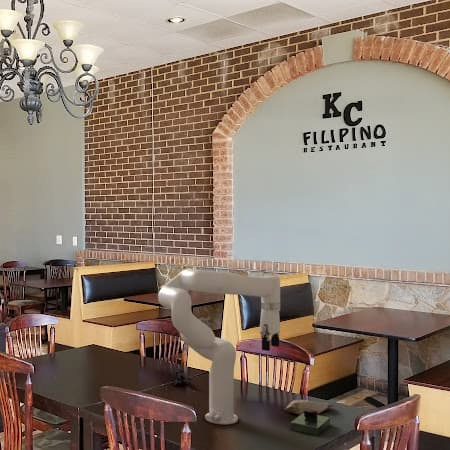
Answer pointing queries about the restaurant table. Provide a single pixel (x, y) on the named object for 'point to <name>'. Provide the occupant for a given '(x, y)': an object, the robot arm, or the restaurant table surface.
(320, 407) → the stone
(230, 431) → the restaurant table surface
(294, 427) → the panel
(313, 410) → the dial
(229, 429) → the restaurant table surface
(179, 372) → the toy
